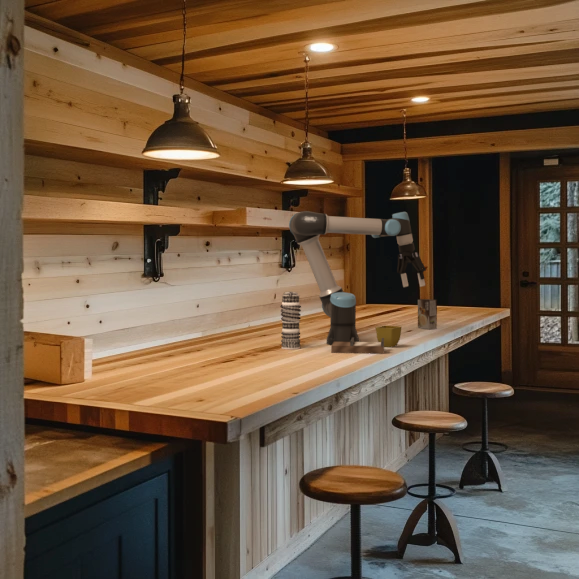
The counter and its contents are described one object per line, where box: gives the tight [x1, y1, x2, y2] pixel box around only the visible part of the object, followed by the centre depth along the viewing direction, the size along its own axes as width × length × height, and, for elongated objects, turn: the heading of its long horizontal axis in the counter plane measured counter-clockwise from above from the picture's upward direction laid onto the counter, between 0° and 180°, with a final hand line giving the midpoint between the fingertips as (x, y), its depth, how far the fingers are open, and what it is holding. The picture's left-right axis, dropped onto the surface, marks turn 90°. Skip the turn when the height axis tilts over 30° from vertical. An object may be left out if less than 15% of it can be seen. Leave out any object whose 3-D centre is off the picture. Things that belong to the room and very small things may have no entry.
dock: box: [330, 337, 385, 355], centre depth 319 cm, size 22×14×5 cm, turn 82°
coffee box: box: [417, 298, 438, 330], centre depth 407 cm, size 9×6×16 cm
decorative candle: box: [280, 291, 302, 350], centre depth 327 cm, size 9×9×25 cm
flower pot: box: [375, 325, 402, 348], centre depth 333 cm, size 9×9×9 cm
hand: (414, 286), depth 361 cm, fingers open, 13 cm apart
